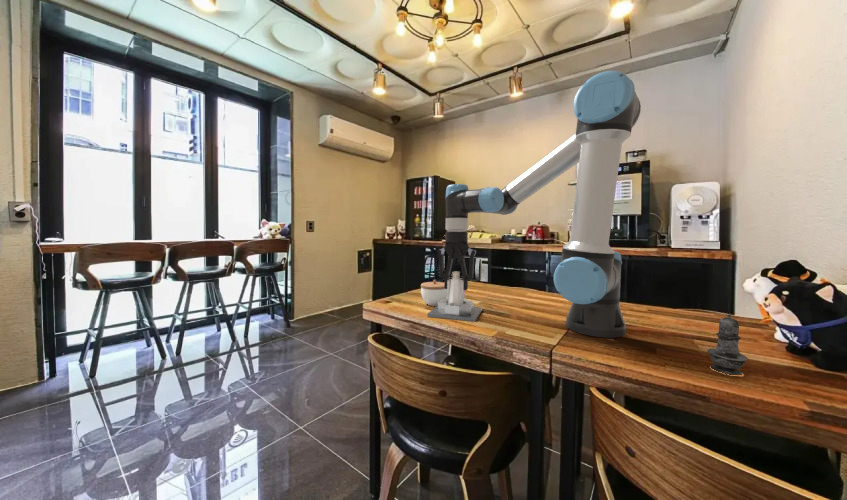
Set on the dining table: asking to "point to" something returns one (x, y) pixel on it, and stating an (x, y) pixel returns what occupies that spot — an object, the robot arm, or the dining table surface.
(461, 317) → the grey ashtray on slab
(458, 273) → the salt shaker
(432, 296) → the lidded jar
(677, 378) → the dining table surface
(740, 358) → the grey stone tiered piece
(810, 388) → the dining table surface
